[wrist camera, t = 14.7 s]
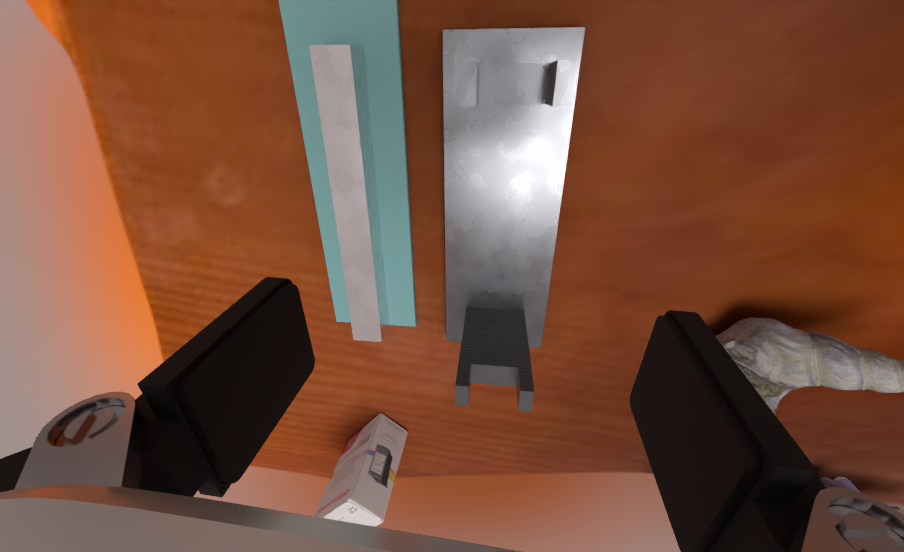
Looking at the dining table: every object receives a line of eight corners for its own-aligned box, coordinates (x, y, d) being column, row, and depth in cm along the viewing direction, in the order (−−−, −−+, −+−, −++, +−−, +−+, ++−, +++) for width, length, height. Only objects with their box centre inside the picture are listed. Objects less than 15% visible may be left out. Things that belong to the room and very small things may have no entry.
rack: (445, 32, 28) (410, -3, 17) (580, 29, 27) (639, -9, 16) (448, 332, 41) (429, 425, 30) (539, 338, 40) (555, 436, 29)
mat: (280, -13, 28) (276, -15, 27) (397, -17, 27) (395, -19, 26) (338, 318, 41) (336, 321, 41) (416, 323, 41) (415, 326, 40)
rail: (326, 48, 28) (308, 44, 26) (363, 48, 28) (349, 44, 26) (363, 323, 41) (353, 339, 38) (389, 325, 40) (381, 341, 38)
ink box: (373, 457, 52) (342, 549, 42) (344, 439, 51) (305, 529, 41) (410, 430, 49) (387, 523, 38) (380, 409, 48) (348, 500, 37)
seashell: (679, 298, 36) (739, 368, 27) (873, 304, 34) (1006, 381, 25) (656, 375, 40) (700, 457, 31) (825, 385, 38) (923, 474, 30)
